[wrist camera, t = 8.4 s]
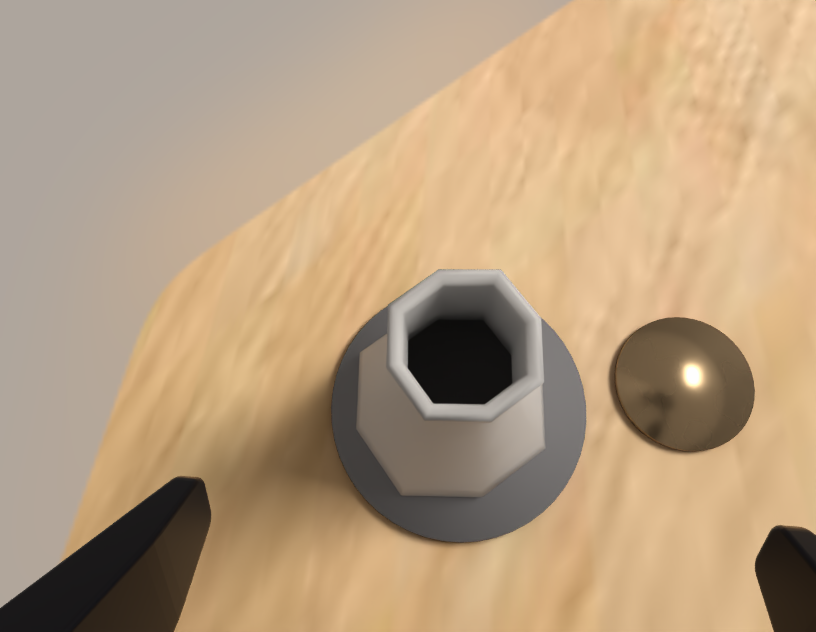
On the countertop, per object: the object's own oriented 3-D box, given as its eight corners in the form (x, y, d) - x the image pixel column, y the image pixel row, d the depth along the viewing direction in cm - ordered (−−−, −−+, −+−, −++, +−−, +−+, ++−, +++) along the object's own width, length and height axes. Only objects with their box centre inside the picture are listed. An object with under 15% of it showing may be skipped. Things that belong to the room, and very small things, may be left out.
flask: (507, 284, 21) (568, 135, 11) (577, 465, 19) (721, 468, 10) (332, 339, 21) (245, 233, 11) (384, 528, 19) (334, 597, 9)
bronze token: (744, 466, 19) (747, 467, 19) (604, 431, 20) (606, 430, 20) (757, 335, 20) (760, 334, 20) (625, 305, 21) (627, 304, 21)
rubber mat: (558, 574, 19) (560, 576, 18) (300, 499, 20) (299, 500, 19) (603, 318, 21) (605, 317, 21) (371, 264, 22) (370, 262, 22)
